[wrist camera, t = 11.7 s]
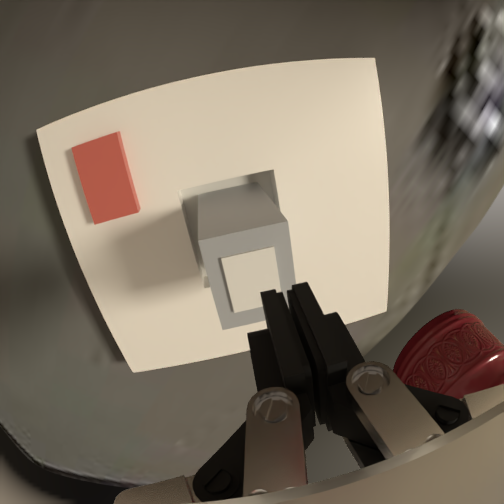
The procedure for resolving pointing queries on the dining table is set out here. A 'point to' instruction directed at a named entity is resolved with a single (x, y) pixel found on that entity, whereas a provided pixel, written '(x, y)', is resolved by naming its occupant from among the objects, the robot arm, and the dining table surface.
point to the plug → (243, 251)
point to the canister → (452, 356)
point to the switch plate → (220, 177)
